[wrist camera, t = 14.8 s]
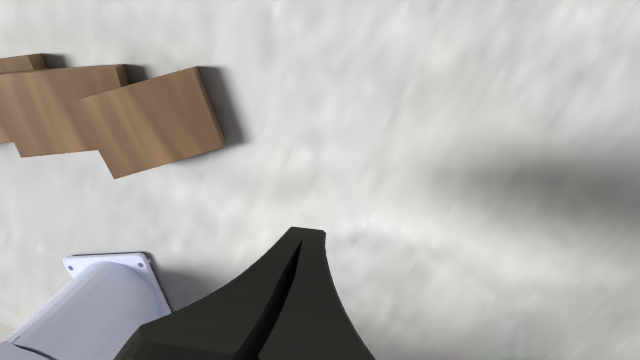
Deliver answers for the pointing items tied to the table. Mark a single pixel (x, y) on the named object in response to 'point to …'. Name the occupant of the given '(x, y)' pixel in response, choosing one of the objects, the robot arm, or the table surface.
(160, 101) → the domino
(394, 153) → the table surface
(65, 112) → the domino
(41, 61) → the domino
